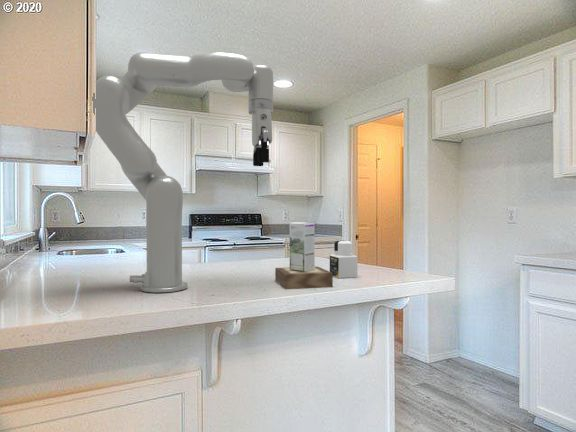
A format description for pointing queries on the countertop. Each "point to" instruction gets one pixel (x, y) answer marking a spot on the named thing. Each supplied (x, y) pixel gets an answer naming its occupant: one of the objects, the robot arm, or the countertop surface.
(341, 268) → the medicine bottle
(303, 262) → the syrup box
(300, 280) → the stand
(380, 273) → the countertop surface
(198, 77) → the robot arm
